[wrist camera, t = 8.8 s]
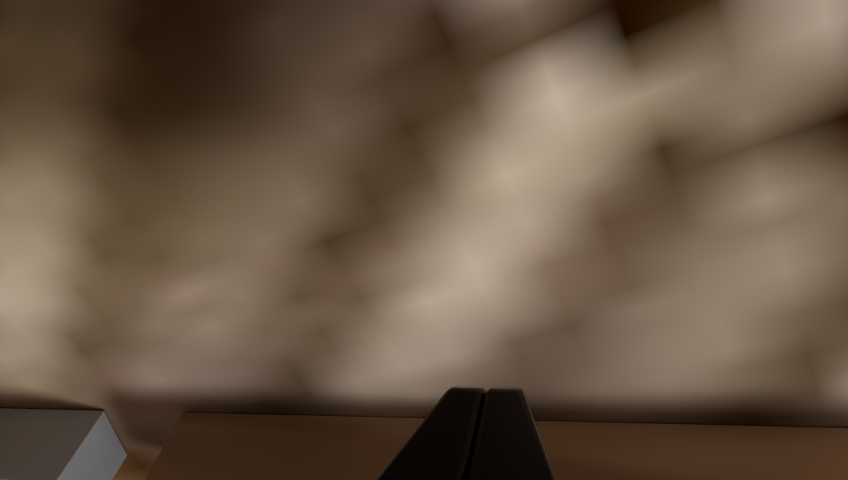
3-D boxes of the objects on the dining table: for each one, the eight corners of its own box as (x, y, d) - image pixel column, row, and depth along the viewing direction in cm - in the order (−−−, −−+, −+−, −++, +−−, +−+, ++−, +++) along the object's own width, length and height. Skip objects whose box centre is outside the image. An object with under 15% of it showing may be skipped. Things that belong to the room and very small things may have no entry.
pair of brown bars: (982, 487, 15) (1030, 585, 13) (203, 458, 18) (165, 532, 17) (1299, -389, 8) (1490, -413, 6) (-70, -157, 11) (-181, -133, 10)
